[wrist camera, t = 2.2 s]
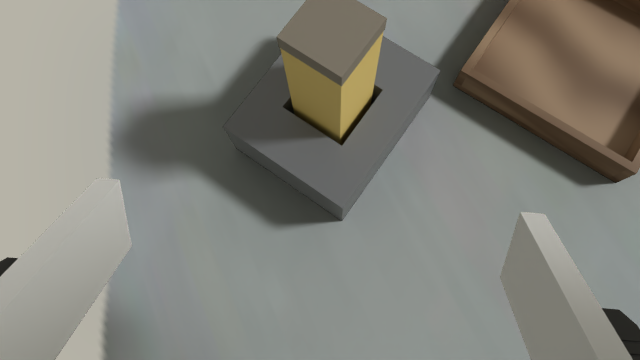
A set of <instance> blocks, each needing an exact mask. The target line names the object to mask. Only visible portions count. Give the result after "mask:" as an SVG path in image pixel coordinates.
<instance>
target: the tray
mask: <svg viewBox="0 0 640 360" xmlns="http://www.w3.org/2000/svg"><path fill="white" fill-rule="evenodd" d="M453 86H455V87H456V88H458V89H460V90H461V91H463V92H465V93H466V94H468V95H470V96H471V97H473V98H475V99H476V100H478V101H480V102H481V103H483V104H485V105H486V106H488V107H490V108H491V109H493V110H495V111H496V112H498V113H500V114H501V115H503V116H505V117H506V118H508V119H510V120H511V121H513V122H515V123H516V124H518V125H520V126H521V127H523V128H525V129H527V130H528V131H530V132H532V133H533V134H535V135H537V136H538V137H540V138H542V139H543V140H545V141H547V142H548V143H550V144H552V145H553V146H555V147H557V148H558V149H560V150H562V151H563V152H565V153H567V154H568V155H570V156H572V157H573V158H575V159H577V160H578V161H580V162H582V163H583V164H585V165H587V166H588V167H590V168H592V169H593V170H595V171H597V172H598V173H600V174H602V175H603V176H605V177H607V178H608V179H610V180H612V181H613V182H615V183H617V182H619V181H621V180H623V179H626V178H628V177H630V176H632V175H635V174H636V173H637V172H638V170H639V168H640V0H509V2H508V3H507V5H506V6H505V8H504V9H503V10H502V12H501V13H500V15H499V16H498V18H497V19H496V20H495V22H494V23H493V25H492V26H491V28H490V29H489V30H488V32H487V33H486V35H485V36H484V38H483V39H482V40H481V42H480V43H479V45H478V46H477V48H476V49H475V51H474V52H473V53H472V55H471V56H470V58H469V59H468V61H467V62H466V63H465V65H464V66H463V68H462V69H461V71H460V73H459V75H458V76H457V78H456V80H455V82H454V84H453Z"/></svg>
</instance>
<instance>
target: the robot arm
mask: <svg viewBox="0 0 640 360" xmlns="http://www.w3.org/2000/svg"><path fill="white" fill-rule="evenodd" d="M131 246H132V244H131V239H130V234H129V228H128V223H127V217H126V212H125V207H124V201H123V196H122V190H121V185H120V180H116V179H104V178H96V179H95V181H94V182H93V183H92V184H91V185H90V186H89V187H88V188H87V189H86V190H85V191H84V192H83V193H82V194H81V195H80V196H79V197H78V198H77V199H76V200H75V201H74V202H73V203H72V204H71V205H70V206H69V207H68V208H67V209H66V210H65V211H64V212H63V213H62V214H61V215H60V216H59V217H58V218H57V219H56V220H55V221H54V222H53V223H52V224H51V225H50V226H49V227H48V228H47V229H46V230H45V232H44V233H43V234H42V235H41V236H40V237H39V238H38V239H37V240H36V241H35V242H34V243H33V244H32V245H31V246H30V247H29V248H28V249H27V250H26V251H25V252H24V253H23V254H22V255H21V256H20V257H19V258H6V259H4V260H2V261H1V262H0V360H55V359H56V357H57V356H58V354H59V353H60V351H61V349H62V348H63V347H64V345H65V344H66V342H67V341H68V339H69V338H70V337H71V335H72V334H73V332H74V331H75V329H76V328H77V326H78V325H79V323H80V322H81V320H82V319H83V317H84V316H85V314H86V313H87V311H88V310H89V308H90V307H91V306H92V304H93V303H94V301H95V300H96V298H97V296H98V295H99V294H100V292H101V291H102V289H103V288H104V286H105V285H106V283H107V282H108V280H109V279H110V278H111V276H112V275H113V273H114V272H115V270H116V269H117V267H118V266H119V264H120V263H121V261H122V260H123V258H124V257H125V255H126V254H127V252H128V251H129V249H130V248H131ZM500 279H501V282H502V284H503V287H504V290H505V292H506V295H507V298H508V300H509V303H510V305H511V308H512V311H513V313H514V316H515V319H516V321H517V324H518V327H519V329H520V332H521V334H522V337H523V340H524V342H525V345H526V348H527V350H528V353H529V355H530V358H531V360H640V329H639V328H638V326H637V325H636V324H635V323H634V322H633V321H632V320H630V319H629V318H628V317H627V316H626V315H625V314H623V313H622V312H621V311H620V310H616V309H605V308H601V306H600V305H599V303H598V301H597V300H596V298H595V296H594V295H593V293H592V291H591V290H590V288H589V286H588V285H587V283H586V282H585V280H584V278H583V277H582V275H581V273H580V272H579V270H578V268H577V267H576V265H575V263H574V262H573V260H572V258H571V257H570V255H569V253H568V252H567V250H566V249H565V247H564V245H563V244H562V242H561V240H560V239H559V237H558V235H557V234H556V232H555V230H554V229H553V227H552V225H551V224H550V222H549V220H548V219H547V217H546V216H545V214H541V213H528V212H520V214H519V218H518V221H517V224H516V227H515V230H514V234H513V237H512V240H511V243H510V247H509V250H508V253H507V256H506V259H505V263H504V266H503V269H502V272H501V276H500Z"/></svg>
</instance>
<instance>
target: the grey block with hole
mask: <svg viewBox="0 0 640 360" xmlns="http://www.w3.org/2000/svg"><path fill="white" fill-rule="evenodd" d="M440 71H441V70H439V69H437V68H436V67H434V66H432V65H431V64H429V63H427V62H426V61H424V60H422V59H421V58H419V57H417V56H416V55H414V54H412V53H411V52H409V51H407V50H406V49H404V48H402V47H400V46H399V45H397V44H395V43H394V42H392V41H390V40H389V39H387V38H385V37H384V36H382V42H381V48H380V54H379V59H378V65H377V71H376V77H375V83H374V88H373V94H372V100H371V106H370V108H369V110H368V111H367V112H366V114H365V115H364V116H363V118H362V119H361V121H360V122H359V123H358V125H357V126H356V127H355V129H354V130H353V131H352V133H351V134H350V136H349V137H348V138H347V140H346V141H345V142H344V144H343V145H342V146H341V145H340V144H338V143H337V142H335V141H334V140H332V139H331V138H329V137H328V136H326V135H325V134H323V133H322V132H320V131H318V130H317V129H315V128H314V127H312V126H311V125H309V124H308V123H306V122H305V121H303V120H302V119H300V118H299V117H297V116H296V115H294V110H293V105H292V100H291V96H290V91H289V86H288V82H287V77H286V72H285V68H284V63H283V58H282V54H281V55H280V56H279V57H278V59H277V60H276V61H275V62H274V64H273V65H272V66H271V67H270V69H269V70H268V71H267V72H266V74H265V75H264V76H263V77H262V79H261V80H260V81H259V82H258V84H257V85H256V86H255V87H254V89H253V90H252V91H251V92H250V94H249V95H248V96H247V97H246V99H245V100H244V101H243V102H242V103H241V105H240V106H239V107H238V108H237V110H236V111H235V112H234V113H233V115H232V116H231V117H230V118H229V120H228V121H227V122H226V123H225V125H224V126H223V128H224V129H225V131H226V132H227V134H228V136H229V137H230V139H231V140H232V142H233V144H234V145H235V147H236V148H237V149H238V150H240V151H241V152H243V153H244V154H246V155H247V156H249V157H250V158H252V159H253V160H254V161H256V162H257V163H259V164H260V165H262V166H263V167H265V168H266V169H268V170H269V171H270V172H272V173H273V174H275V175H276V176H278V177H279V178H281V179H282V180H283V181H285V182H286V183H288V184H289V185H291V186H292V187H294V188H295V189H297V190H298V191H299V192H301V193H302V194H304V195H305V196H307V197H308V198H310V199H311V200H313V201H314V202H315V203H317V204H318V205H320V206H321V207H323V208H324V209H326V210H327V211H328V212H330V213H331V214H333V215H334V216H336V217H337V218H339V219H340V220H343V219H344V217H345V216H346V215H347V213H348V212H349V210H350V209H351V207H352V206H353V205H354V203H355V202H356V200H357V199H358V198H359V196H360V195H361V193H362V192H363V190H364V189H365V188H366V186H367V185H368V183H369V182H370V180H371V179H372V178H373V176H374V175H375V173H376V172H377V171H378V169H379V168H380V166H381V165H382V163H383V162H384V161H385V159H386V158H387V156H388V155H389V153H390V152H391V151H392V149H393V148H394V146H395V145H396V144H397V142H398V141H399V139H400V138H401V136H402V135H403V134H404V132H405V131H406V129H407V128H408V126H409V125H410V124H411V122H412V121H413V119H414V118H415V117H416V115H417V114H418V112H419V111H420V109H421V108H422V107H423V105H424V104H425V102H426V101H427V99H428V98H429V96H430V94H431V91H432V89H433V87H434V85H435V82H436V80H437V78H438V76H439V73H440Z"/></svg>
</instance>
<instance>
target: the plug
mask: <svg viewBox="0 0 640 360" xmlns="http://www.w3.org/2000/svg"><path fill="white" fill-rule="evenodd" d="M386 20H387V18H386V17H384V16H382V15H380V14H379V13H377V12H375V11H374V10H372V9H370V8H368V7H367V6H365V5H363V4H362V3H360V2H358V1H357V0H306V1H305V2H304V4H303V5H302V6H301V7H300V9H299V10H298V11H297V12H296V14H295V15H294V16H293V17H292V18H291V20H290V21H289V22H288V23H287V25H286V26H285V27H284V28H283V30H282V31H281V32H280V33H279V34H278V36H277V41H278V46H279V48H280V49H281V54H282V58H283V63H284V68H285V72H286V77H287V82H288V86H289V91H290V96H291V100H292V105H293V110H294V115H296V116H297V117H299V118H300V119H302V120H303V121H305V122H306V123H308V124H309V125H311V126H312V127H314V128H315V129H317V130H318V131H320V132H322V133H323V134H325V135H326V136H328V137H329V138H331V139H332V140H334V141H335V142H337V143H338V144H340V145H341V146H342V145H343V144H344V142H345V141H346V140H347V138H348V137H349V136H350V134H351V133H352V131H353V130H354V129H355V127H356V126H357V125H358V123H359V122H360V121H361V119H362V118H363V116H364V115H365V114H366V112H367V111H368V110H369V108H370V106H371V100H372V94H373V88H374V83H375V77H376V71H377V65H378V59H379V54H380V48H381V42H382V36H383V31H384V30H385V26H386Z"/></svg>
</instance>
